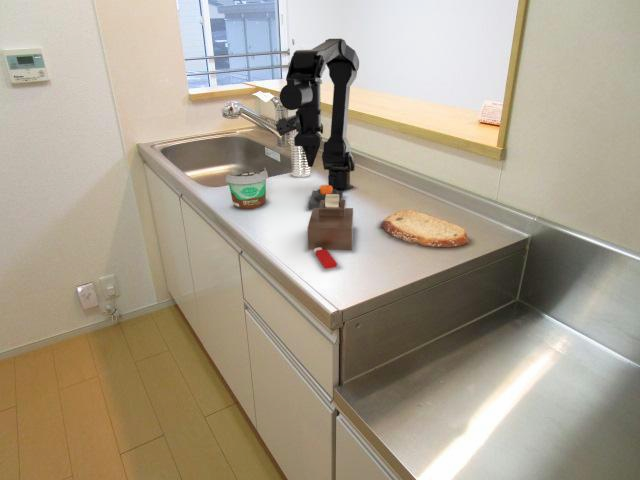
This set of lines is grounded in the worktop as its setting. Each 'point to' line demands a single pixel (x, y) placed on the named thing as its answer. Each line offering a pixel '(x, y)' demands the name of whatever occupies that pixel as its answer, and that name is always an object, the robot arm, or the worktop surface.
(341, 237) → the stand
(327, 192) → the power button
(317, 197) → the power block
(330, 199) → the beige block
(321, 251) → the lighter
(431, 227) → the bread slice
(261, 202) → the food container
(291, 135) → the water bottle
